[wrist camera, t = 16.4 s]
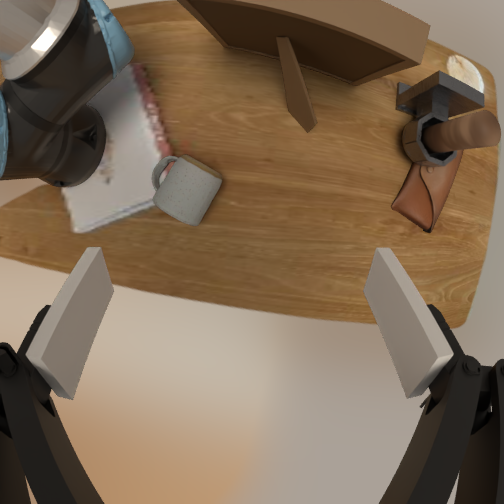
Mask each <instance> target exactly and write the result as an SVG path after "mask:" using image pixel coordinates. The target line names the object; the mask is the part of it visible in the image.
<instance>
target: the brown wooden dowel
mask: <svg viewBox="0 0 504 504" xmlns="http://www.w3.org/2000/svg"><path fill="white" fill-rule="evenodd" d="M500 138H501V129H500V125H499V123H498V120H497V119H496V117H495V116H494V115H493V114H492V113H491V112H489V111H487V110H483V111H479V112H476V113H472V114H469V115H465V116H462V117H458V118H455V119H452V120H448V121H445V122H442V123H438V124H435V125H432V126H429V127H426V128H422V132H421V142H422V144H423V146H424V147H425V149H426V151H427V153H428V154H434V153H441V152H448V151H456V150H464V149H472V148H481V147H490V146H496V145H497V144H498V143H499V141H500Z"/></svg>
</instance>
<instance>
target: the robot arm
mask: <svg viewBox="0 0 504 504" xmlns="http://www.w3.org/2000/svg"><path fill="white" fill-rule="evenodd" d="M134 51H135V50H134V46H133V44H132V42H131V40H130V39H129V37H128V35H127V34H126V32H125V31H124V29H123V28H122V26H121V25H120V23H119V22H118V21H117V19H116V18H115V17H114V16H113V14H112V12H111V11H110V10H109V8H108V6H107V5H106V4H105V3H104V1H103V0H0V60H1V64H2V73H3V76H4V77H5V78H6V79H5V81H4V82H3V83H2V85H1V86H0V180H11V179H25V178H39V179H41V180H43V181H45V182H47V183H48V184H50V185H52V186H56V187H73V186H76V185H79V184H81V183H82V182H84V181H85V180H86V179H88V178H89V177H90V176H91V175H92V173H93V172H94V171H95V169H96V168H97V166H98V164H99V162H100V160H101V158H102V155H103V152H104V147H105V139H106V135H105V127H104V123H103V120H102V118H101V116H100V115H99V113H98V112H97V111H96V110H95V109H94V108H92V107H91V106H88V105H86V103H87V102H88V101H89V100H90V99H91V98H92V97H93V96H94V95H95V94H97V93H98V92H99V91H100V90H101V89H102V88H103V87H104V86H105V85H106V84H107V83H109V82H110V81H111V80H112V79H114V78H115V77H116V76H117V74H118V73H119V72H120V71H121V70H122V69H123V68H124V67H125V66H126V65H127V64H128V63H129V62H130V61H131V60H132V58H133V56H134ZM113 292H114V289H113V286H112V283H111V280H110V276H109V273H108V270H107V266H106V263H105V260H104V256H103V252H102V249H101V247H87V249H86V250H85V252H84V253H83V255H82V256H81V258H80V259H79V261H78V263H77V264H76V266H75V267H74V269H73V270H72V272H71V273H70V275H69V277H68V278H67V280H66V282H65V283H64V285H63V286H62V288H61V290H60V291H59V293H58V295H57V297H56V298H55V300H54V302H53V304H52V305H46V306H45V307H44V308H43V309H42V310H41V311H40V312H39V313H38V314H37V316H36V318H35V320H34V321H33V324H32V325H31V327H30V330H29V331H28V332H27V334H26V336H25V338H24V340H23V342H22V344H21V346H20V348H19V350H18V352H17V354H16V353H15V351H14V350H13V348H12V347H11V346H10V345H9V344H8V343H4V342H2V343H0V504H31V501H30V497H29V493H28V488H27V483H26V478H27V481H28V483H29V486H30V488H31V490H32V493H33V495H34V497H35V499H36V501H37V504H104V502H103V501H102V499H101V497H100V496H99V494H98V493H97V491H96V489H95V488H94V486H93V484H92V482H91V481H90V479H89V477H88V475H87V474H86V472H85V470H84V468H83V466H82V464H81V463H80V461H79V459H78V457H77V455H76V453H75V451H74V449H73V447H72V445H71V443H70V440H69V438H68V436H67V434H66V431H65V429H64V427H63V425H62V422H61V420H60V418H59V415H58V413H57V410H56V408H55V405H54V403H53V400H52V398H51V397H50V392H51V389H52V390H53V391H54V392H55V393H56V395H57V396H59V397H63V398H67V399H71V400H73V398H74V395H75V392H76V388H77V386H78V383H79V380H80V377H81V374H82V371H83V368H84V365H85V362H86V360H87V357H88V354H89V351H90V349H91V346H92V343H93V341H94V338H95V336H96V333H97V331H98V328H99V326H100V323H101V321H102V318H103V316H104V313H105V311H106V309H107V306H108V304H109V302H110V299H111V297H112V295H113ZM363 292H364V294H365V297H366V299H367V301H368V303H369V305H370V308H371V310H372V312H373V315H374V317H375V319H376V321H377V324H378V326H379V328H380V331H381V333H382V336H383V338H384V340H385V343H386V345H387V348H388V350H389V353H390V355H391V358H392V360H393V363H394V365H395V368H396V370H397V373H398V376H399V378H400V381H401V384H402V387H403V389H404V392H405V395H406V398H411V397H416V396H419V395H422V394H423V393H424V392H425V390H426V389H427V388H428V387H429V389H430V392H431V394H430V395H429V396H428V397H427V398H426V399H425V400H424V402H423V403H422V404H421V406H420V407H421V408H422V407H423V406H424V405H425V407H424V410H423V412H422V415H421V418H420V420H419V422H418V425H417V427H416V430H415V432H414V435H413V437H412V439H411V442H410V444H409V446H408V448H407V451H406V453H405V455H404V457H403V459H402V461H401V463H400V465H399V468H398V469H397V471H396V474H395V475H394V477H393V479H392V481H391V483H390V485H389V486H388V488H387V490H386V492H385V494H384V495H383V497H382V499H381V500H380V502H379V504H447V502H448V499H449V497H450V494H451V492H452V489H453V487H454V484H455V481H456V479H457V476H458V473H459V479H458V485H457V492H456V497H455V503H454V504H504V359H500V360H499V361H497V363H496V364H495V365H494V366H493V367H491V366H481V365H480V363H479V362H478V361H477V360H476V359H475V358H474V357H472V356H468V355H465V354H464V352H463V351H462V349H461V347H460V345H459V343H458V341H457V340H456V338H455V336H454V334H453V333H452V331H451V330H450V327H449V326H448V324H447V322H445V321H446V320H445V319H444V317H443V315H442V314H441V312H440V311H439V310H438V309H437V308H436V307H435V306H433V305H432V304H430V305H426V303H425V302H424V300H423V298H422V297H421V295H420V293H419V292H418V290H417V289H416V287H415V285H414V284H413V282H412V281H411V279H410V277H409V276H408V274H407V273H406V271H405V270H404V268H403V267H402V265H401V264H400V262H399V261H398V259H397V258H396V256H395V255H394V253H393V252H392V250H391V249H390V248H376V251H375V254H374V258H373V261H372V265H371V268H370V271H369V274H368V278H367V281H366V284H365V287H364V290H363ZM491 406H492V412H491ZM459 470H460V472H459ZM25 476H26V478H25Z"/></svg>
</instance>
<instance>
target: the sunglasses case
mask: <svg viewBox="0 0 504 504" xmlns="http://www.w3.org/2000/svg"><path fill="white" fill-rule="evenodd" d="M462 154H463V150H457V156H456V158H455V159H453V160H452V161H451V162H449V163H448V164H447V165H446V166H444V167H428V166H421V165H418V164H416V163H414V162H413V164H412V166H411V169H410V171H409V173H408V175H407V177H406V180H405V182H404V184H403V186H402V188H401V190H400V192H399V194H398V196H397V197H396V199H395V200H394V202H393V203H392V206H391V207H392V209H393V210H395V211H398V212H399V213H400V214H402V215H403V216H405V217H406V218H407V219H409V220H410V221H412V222H413V223H415V224H416V225H418V226H419V227H421V228H422V229H423V231H425V232H427V233H431V232H432V229H433V227H434V225H435V223H436V221H437V219H438V217H439V215H440V213H441V211H442V209H443V206H444V204H445V202H446V199H447V197H448V194H449V192H450V189H451V187H452V184H453V181H454V179H455V176H456V173H457V170H458V167H459V164H460V161H461V158H462Z"/></svg>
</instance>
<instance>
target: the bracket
mask: <svg viewBox="0 0 504 504" xmlns="http://www.w3.org/2000/svg"><path fill="white" fill-rule="evenodd" d="M483 107H484V94H483V93H481V92H479V91H477V90H476V89H474V88H472V87H470V86H469V85H467V84H465V83H463V82H461V81H459V80H457V79H455V78H453V77H451V76H449V75H447V74H445V73H443V72H441V71H438V72H436V73H434V74H432V75H431V76H429V77H427V78H426V79H424V80H422V81H421V82H419V83H417V84H416V85H414V86H412V87H411V86H409V85H406V84H403V83H401V82H399V83H398V85H397V99H396V110H399V111H401V112H404V113H407V114H410V115H412V116H415V117H416V119H415V120H413V121H411V122H409V123H408V124H407V125H406V126H405V128H404V130H403V134H402V143H403V147H404V150H405V152H406V154H407V155H408V157H409V158H410V159H411V160H412V161H413V162H414V163H416V164H418V165H421V166H428V167H444V166H446V165H447V164H448V163H449V162H451V161H452V160H453V159H455V158H456V156H457V150H456V151H448V152H441V153H434V154H428V153H427V151H426V149H425V147H424V146H423V144H422V142H421V132H422V128H426V127H429V126H432V125H435V124H438V123H442V122H445V121H448V120H449V119H448V118H449V117H452V116H456V115H459V114H462V113H466V112H469V111H473V110H476V109H480V108H483Z"/></svg>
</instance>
